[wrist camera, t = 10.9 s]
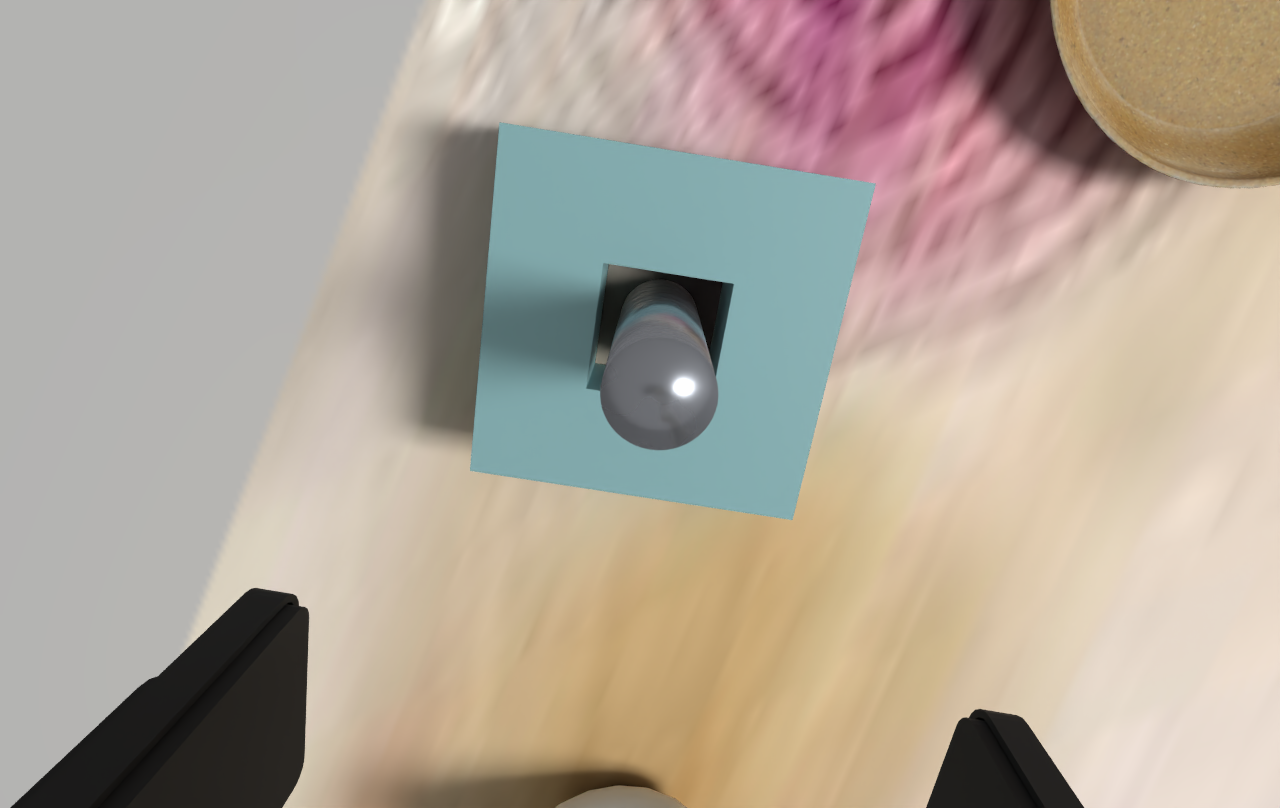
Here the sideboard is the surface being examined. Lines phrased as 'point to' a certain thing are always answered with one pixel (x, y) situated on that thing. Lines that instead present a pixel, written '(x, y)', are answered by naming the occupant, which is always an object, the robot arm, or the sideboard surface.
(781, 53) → the sideboard surface
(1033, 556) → the sideboard surface
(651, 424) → the steel pin
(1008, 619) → the sideboard surface
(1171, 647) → the sideboard surface
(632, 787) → the donut
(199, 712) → the robot arm
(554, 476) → the slot block
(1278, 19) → the plant saucer
